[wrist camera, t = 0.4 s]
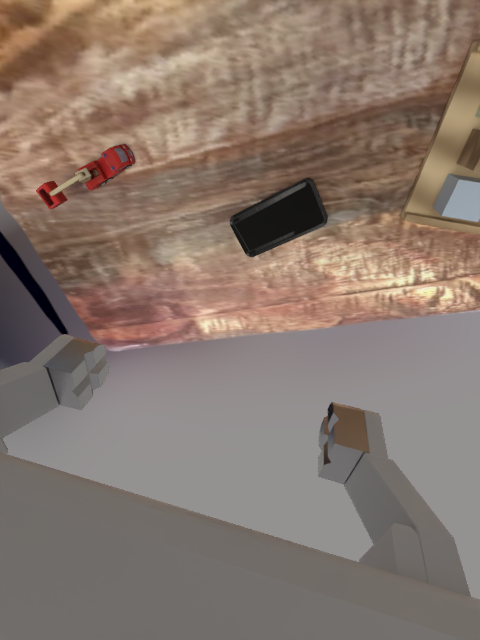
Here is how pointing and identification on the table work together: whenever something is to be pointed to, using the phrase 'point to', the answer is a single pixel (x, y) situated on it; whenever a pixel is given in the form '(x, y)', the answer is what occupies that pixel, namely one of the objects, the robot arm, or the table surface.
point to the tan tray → (450, 150)
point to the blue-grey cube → (459, 198)
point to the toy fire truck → (90, 174)
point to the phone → (279, 218)
